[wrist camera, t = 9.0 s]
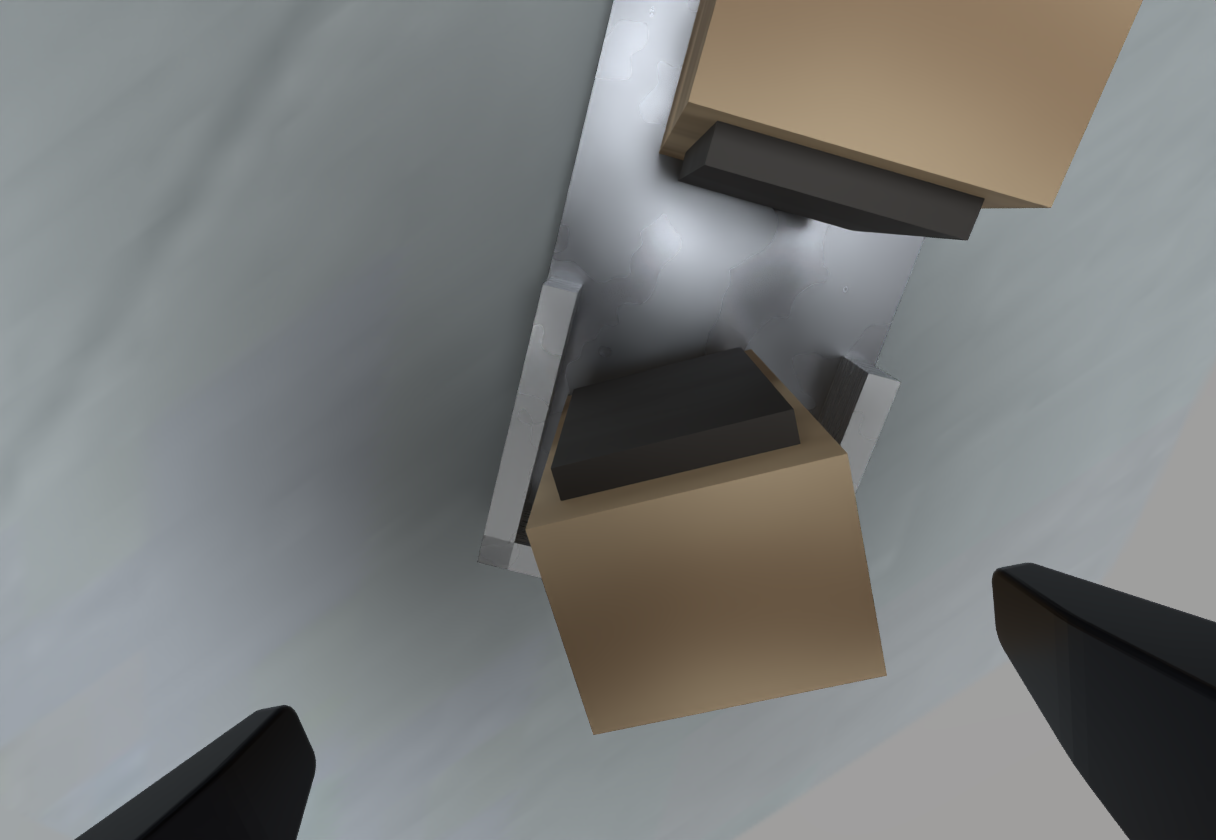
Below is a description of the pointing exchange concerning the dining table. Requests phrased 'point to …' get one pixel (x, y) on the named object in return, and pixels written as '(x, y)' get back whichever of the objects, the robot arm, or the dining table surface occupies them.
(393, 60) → the dining table surface
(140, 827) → the robot arm
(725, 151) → the block
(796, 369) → the rail
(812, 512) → the block
